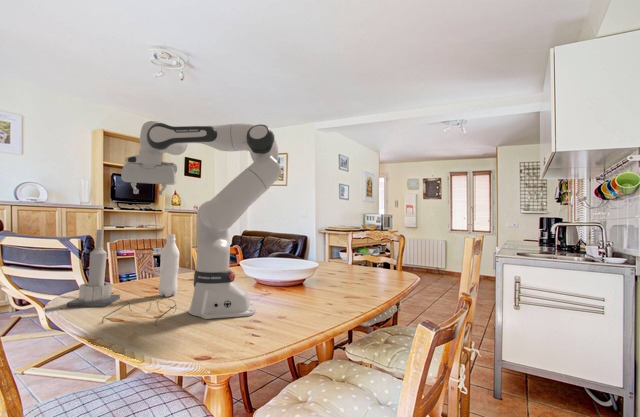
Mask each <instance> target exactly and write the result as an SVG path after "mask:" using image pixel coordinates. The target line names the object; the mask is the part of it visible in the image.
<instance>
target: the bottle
mask: <svg viewBox="0 0 640 417" xmlns="http://www.w3.org/2000/svg"><path fill="white" fill-rule="evenodd" d="M95 235H96V237H95V238H96V239H95V247H94V248H93V250H92V251H91V252H90V253H89V266H88V267H89V268H88V270H89V271H88V283H89V284H88V287H95V286H103V285H104V282H105V278H106V277H105V275H106V268H107V267H106V266H107V254H108V252H106V250H104V248H103V239H104V229H96V234H95Z"/></svg>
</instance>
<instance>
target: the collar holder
mask: <svg viewBox="0 0 640 417" xmlns="http://www.w3.org/2000/svg"><path fill="white" fill-rule="evenodd" d="M88 284H89V282H87V283H86V282H85V283H82V284H79V288H78V290H79V291H78V297H77V298H75V299H72V300H70V301H68V302H66V308H105V307H107V306H109V305H112V304H113V303H114V302H117V301H118V300H120V299H121V294H112V286H113V284H112V283H111V282H108V281H104V285H103V286H95V287H88Z"/></svg>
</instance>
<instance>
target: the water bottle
mask: <svg viewBox="0 0 640 417" xmlns="http://www.w3.org/2000/svg"><path fill="white" fill-rule="evenodd" d="M176 240H177V239H176V234H173V233H169V234H167V236H166V243H165V245H164V247H163V248H162V250H161V252H160V266H159V274H160V278H159V283H158V287H157V290H158V294H159V296H160V297H167V298H168V297H171V296H172V297H174V296H176V294H177V293H178V292H177V291H178V288H179V285H178V284H179V283H178V272H179V270H180V266H179V265H180V264H179V263H180V253H181V252H180V251H179V248H178V246H177V244H176Z"/></svg>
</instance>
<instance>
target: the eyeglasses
mask: <svg viewBox="0 0 640 417" xmlns="http://www.w3.org/2000/svg"><path fill="white" fill-rule="evenodd" d="M134 299H136V297H134V298H131V300H130V301H129V302H128V303H126V304H124V305H122V306H121V307H119V308H117V309H115V310H113V311H112V312H110V313H107V314H106V315H104V316H103V317H102V320H101V324H104V319H105V318H106V317H108V316H110V315H112V314H113V313H115V312H117V311H119V310H120V309H122V308H124V307H126V306H127V305H128V308H129V310H130V311H131V312H133V310H132V309H131V307H130V306H131V302H132V300H134ZM144 299H147V300H148V301H149V302H150V305H149V308H148V309H147V310H146V312H147V311H149V310H150V309H151V307H152V300H151V299H153V300H155V299H156V300H157V299H158V300H157V301H156V305H157V309H158V310H159V312H162V314H161V315H160V316H158V317H157V318H156V320H155V323H154V326H155V327H157V321H158V320H160V318H162V317H163V316H164V315H165V314H167V313H168V312H170V311H171V310H172V309H174V308H175V309H174V312H172V313H175V312H176V311H177V308H176V307H177V303H176V301H175V300H174V299H173V298H169V300H171V301H173V302H174V304H175V305H173V306H172V307H171V308H169V309H168V310H166V311H165V312H164V313H163V311H162V310H161V309H160V308H159V302H160V301H161V300H163V298H158V297H156V298H155V297H154V298H153V297H152V298H151V297H150V298H149V297H144Z"/></svg>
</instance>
